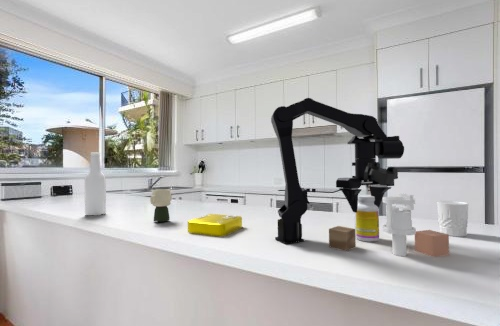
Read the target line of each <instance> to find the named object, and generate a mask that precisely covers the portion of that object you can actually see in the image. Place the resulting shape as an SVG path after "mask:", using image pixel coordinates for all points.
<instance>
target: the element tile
mask: <svg viewBox="0 0 500 326" xmlns="http://www.w3.org/2000/svg"><path fill="white" fill-rule="evenodd" d="M242 228H243V217H242V216H241V215H234V214H233V215H232V214H231V215H230V214H229V215H228V214H215V213H214V214H213V213H208V214H206V215H203V216H198V217H196V218H192V219H189V220H188V221H187V233H188V232H190V233H189V234H193V233H195V235H202V236H203V235H204V236H212V237H227V236H228V235H230V234H232V233H234V232H236V231H238V230H240V229H242Z"/></svg>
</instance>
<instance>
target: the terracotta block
mask: <svg viewBox="0 0 500 326" xmlns="http://www.w3.org/2000/svg"><path fill="white" fill-rule="evenodd" d="M449 241H450V238H449V234H444V233H440V231H435V230H432V229H426V230H416V234H415V235H414V251H416V252H418V253H420V254H425V255H427V256H430V257H433V258H435V257H436V258H437V257H444V256H449V255H450V242H449Z"/></svg>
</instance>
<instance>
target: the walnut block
mask: <svg viewBox="0 0 500 326" xmlns="http://www.w3.org/2000/svg"><path fill="white" fill-rule="evenodd" d="M356 240H357V238H356V237H355V228H351V227H347V226H340V225H337V226H333V227H330V228H328V245H329V248H331V249H336V250H340V251H344V252H349V251H350V250H352V249H354V248H356V246H357V245H356V244H357V243H356Z"/></svg>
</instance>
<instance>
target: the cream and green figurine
mask: <svg viewBox="0 0 500 326" xmlns="http://www.w3.org/2000/svg"><path fill="white" fill-rule="evenodd" d="M151 194H152V195H150V197H149V198H150V200H149V201H150V204H151V205H152V206H154V207H155V208H154V213H153V214H154V215H153V222H158V223H160V222H167V221H168V222H169V221H170V212H169V208H168V206H170V205H171V201H172V196H173V195H172V193H171V189H165V188H164V189H153V190H152V191H151ZM159 221H160V222H159Z"/></svg>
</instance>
